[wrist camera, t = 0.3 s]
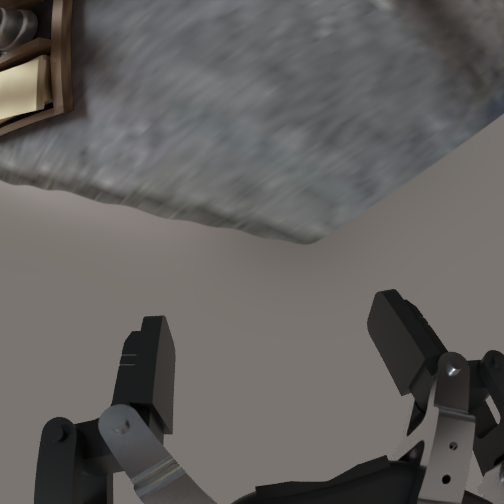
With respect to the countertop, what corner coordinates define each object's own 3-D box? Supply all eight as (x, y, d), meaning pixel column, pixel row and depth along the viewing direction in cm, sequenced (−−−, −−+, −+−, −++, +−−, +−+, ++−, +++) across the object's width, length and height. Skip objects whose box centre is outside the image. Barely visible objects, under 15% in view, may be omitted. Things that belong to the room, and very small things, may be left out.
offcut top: (-12, 79, 20) (-21, 80, 18) (46, 60, 22) (38, 59, 20) (-13, 123, 23) (-21, 126, 22) (44, 108, 25) (36, 110, 23)
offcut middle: (-7, 85, 22) (-15, 87, 20) (49, 55, 23) (42, 54, 21) (-2, 125, 26) (-10, 128, 24) (53, 99, 26) (46, 100, 25)
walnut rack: (-9, 25, 17) (-40, 22, 10) (74, -18, 19) (48, -34, 12) (-7, 139, 27) (-39, 152, 20) (74, 110, 29) (43, 117, 22)
